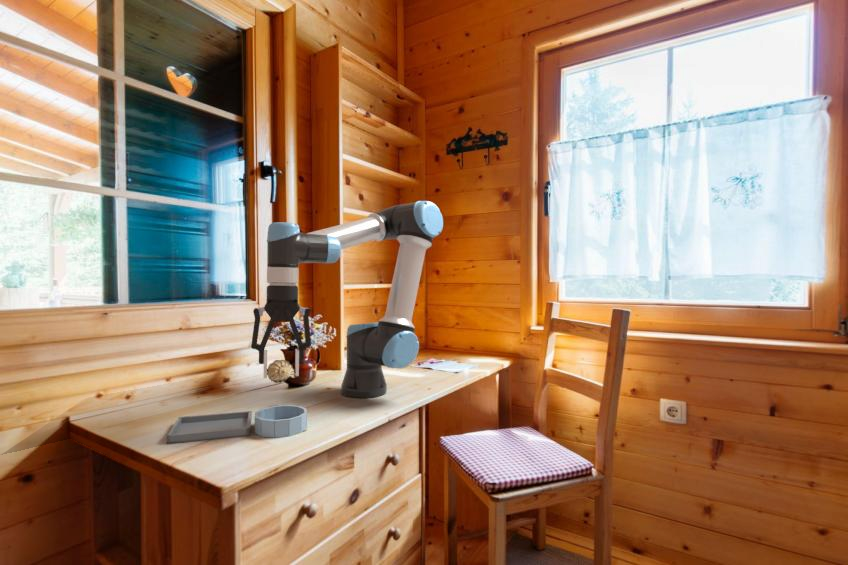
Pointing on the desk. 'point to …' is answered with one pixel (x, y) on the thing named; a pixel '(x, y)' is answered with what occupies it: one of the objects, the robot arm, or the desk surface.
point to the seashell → (280, 371)
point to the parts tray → (210, 427)
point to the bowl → (280, 421)
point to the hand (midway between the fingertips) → (281, 375)
